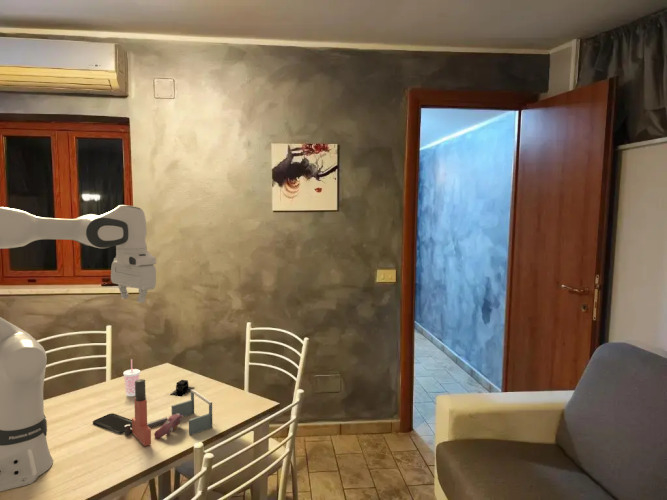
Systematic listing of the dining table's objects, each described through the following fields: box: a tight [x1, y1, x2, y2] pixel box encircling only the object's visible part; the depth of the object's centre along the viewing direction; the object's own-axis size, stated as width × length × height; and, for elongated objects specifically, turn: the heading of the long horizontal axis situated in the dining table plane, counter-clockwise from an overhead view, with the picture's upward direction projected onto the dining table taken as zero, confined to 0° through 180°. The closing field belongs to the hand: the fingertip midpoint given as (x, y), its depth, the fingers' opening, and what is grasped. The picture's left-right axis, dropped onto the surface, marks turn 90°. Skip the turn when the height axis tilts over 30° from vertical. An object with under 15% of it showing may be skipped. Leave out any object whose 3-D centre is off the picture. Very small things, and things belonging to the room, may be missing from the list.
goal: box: [171, 388, 213, 436], centre depth 158 cm, size 8×15×9 cm, turn 42°
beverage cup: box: [122, 358, 141, 397], centre depth 181 cm, size 6×6×14 cm
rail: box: [123, 416, 169, 436], centre depth 154 cm, size 14×1×3 cm, turn 132°
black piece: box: [169, 379, 196, 398], centre depth 185 cm, size 12×7×5 cm, turn 163°
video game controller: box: [153, 413, 184, 439], centre depth 152 cm, size 10×5×7 cm, turn 169°
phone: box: [92, 412, 132, 435], centre depth 157 cm, size 8×1×15 cm
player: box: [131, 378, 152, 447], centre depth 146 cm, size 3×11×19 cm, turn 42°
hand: (132, 300), depth 145 cm, fingers open, 8 cm apart
